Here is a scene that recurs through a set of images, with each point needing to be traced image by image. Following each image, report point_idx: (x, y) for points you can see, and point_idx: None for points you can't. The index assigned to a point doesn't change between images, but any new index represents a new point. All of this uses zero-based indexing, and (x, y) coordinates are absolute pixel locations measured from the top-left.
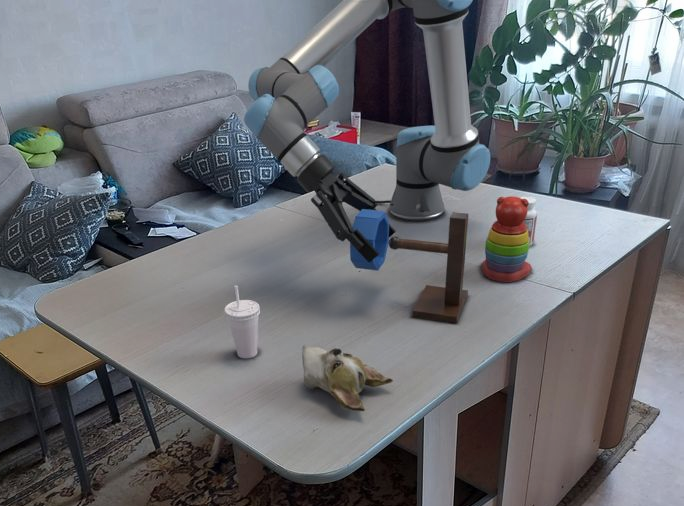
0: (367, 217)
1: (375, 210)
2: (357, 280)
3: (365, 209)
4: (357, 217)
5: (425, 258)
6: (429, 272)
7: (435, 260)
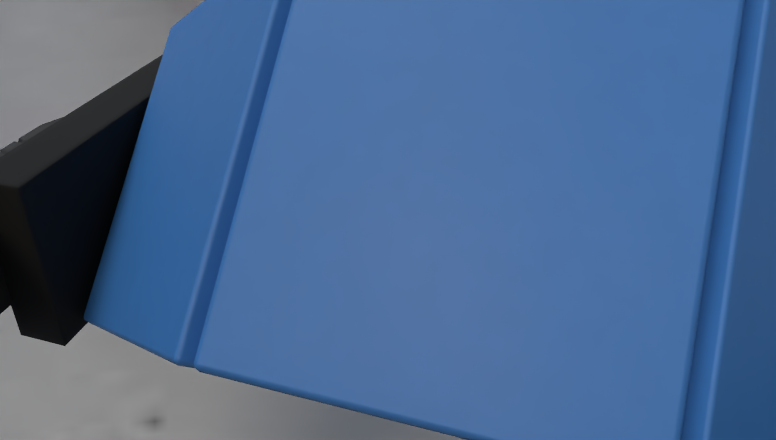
0: (711, 193)
1: (288, 85)
2: (276, 422)
3: (229, 291)
4: (703, 427)
5: (5, 60)
6: (172, 25)
7: (32, 8)
